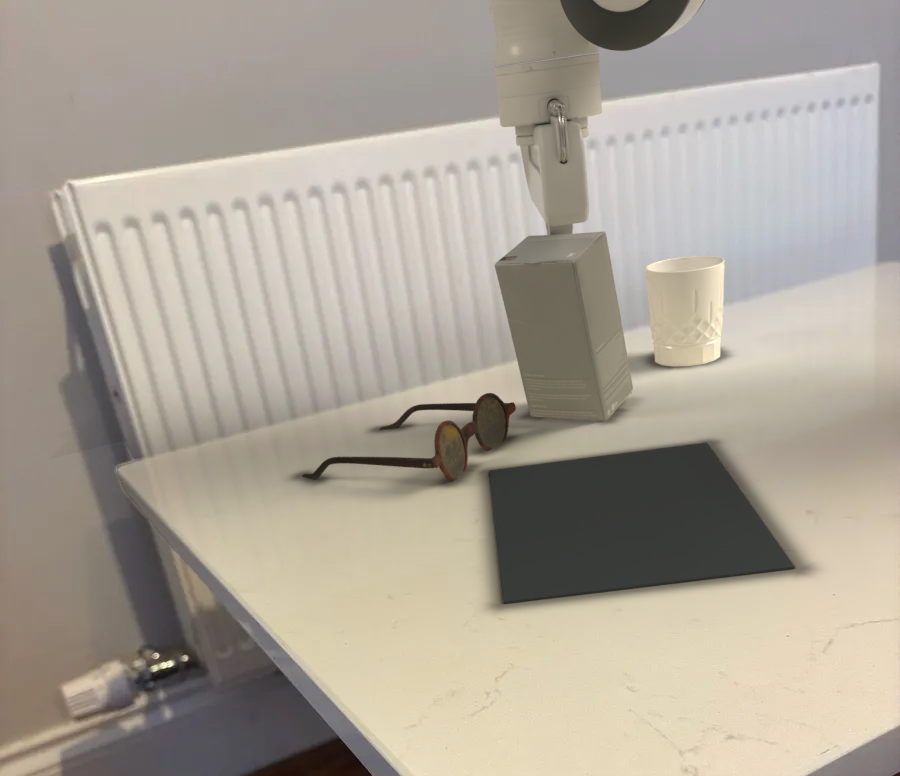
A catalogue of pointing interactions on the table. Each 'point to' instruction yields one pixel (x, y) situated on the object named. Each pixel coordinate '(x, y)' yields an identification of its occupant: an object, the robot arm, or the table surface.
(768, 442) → the table surface
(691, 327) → the white cup
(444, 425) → the eyeglasses
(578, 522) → the mat
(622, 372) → the cosmetic box
